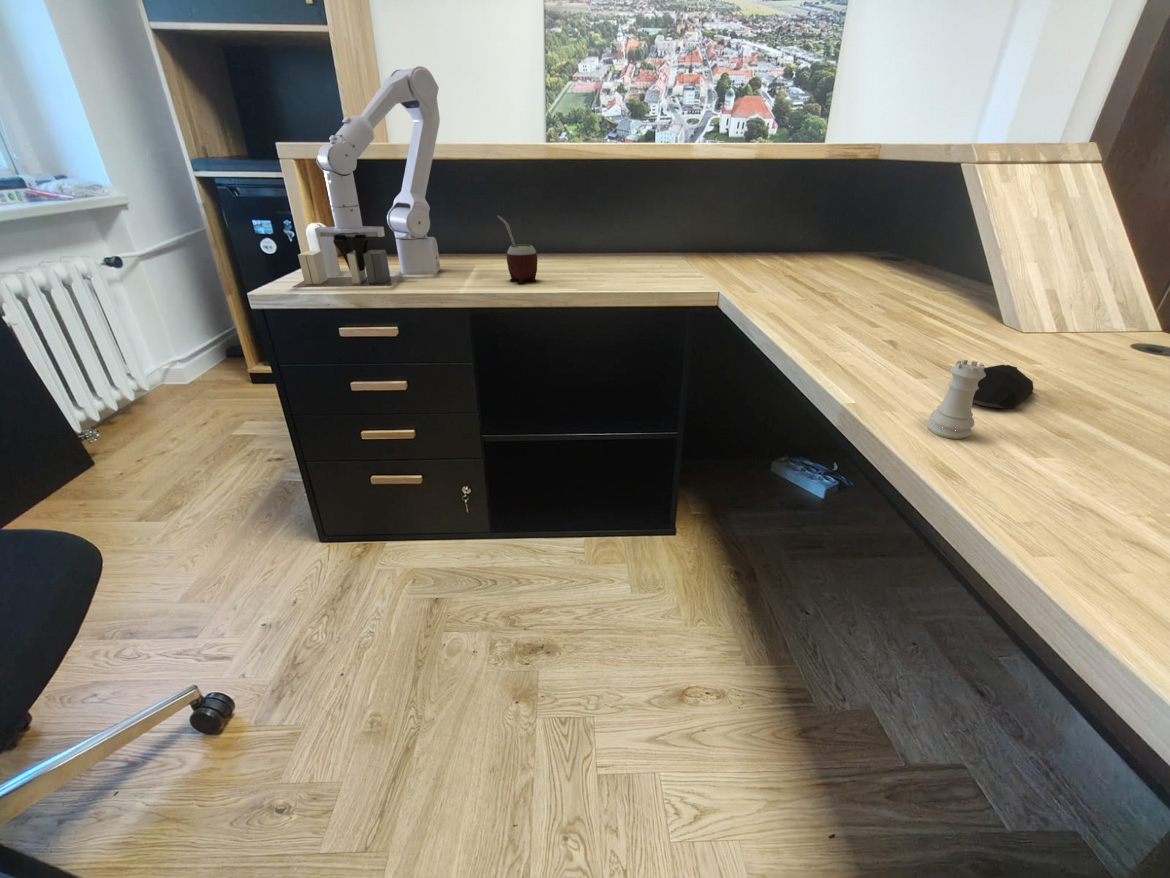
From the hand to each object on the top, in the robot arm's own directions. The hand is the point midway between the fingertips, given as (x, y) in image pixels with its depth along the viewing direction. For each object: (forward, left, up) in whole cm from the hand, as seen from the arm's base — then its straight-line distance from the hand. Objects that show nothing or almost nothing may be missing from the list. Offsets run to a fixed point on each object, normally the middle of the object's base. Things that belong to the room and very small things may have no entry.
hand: (357, 269), depth 127 cm
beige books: (+10, 0, -3) cm, 10 cm away
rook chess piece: (-91, +78, -4) cm, 120 cm away
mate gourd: (-38, -1, -4) cm, 38 cm away
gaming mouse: (-104, +68, -4) cm, 124 cm away
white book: (0, 0, -3) cm, 3 cm away
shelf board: (+2, 0, -3) cm, 4 cm away
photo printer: (+11, -11, -4) cm, 16 cm away
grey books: (-5, 0, -3) cm, 5 cm away
